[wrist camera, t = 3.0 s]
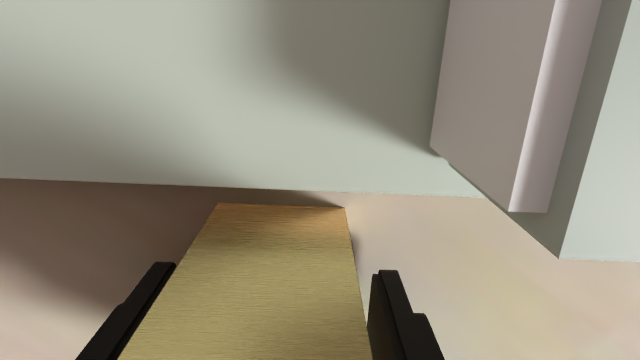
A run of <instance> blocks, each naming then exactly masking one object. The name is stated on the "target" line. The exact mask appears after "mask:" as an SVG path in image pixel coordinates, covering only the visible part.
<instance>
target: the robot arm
mask: <svg viewBox="0 0 640 360" xmlns="http://www.w3.org/2000/svg"><path fill="white" fill-rule="evenodd" d="M176 268H177V267H176V264H175V263H174V262H155V263H154V264H153V265H152V267H151V268H150V269H149V270H148V272H147V273H146V274H145V276H144V277H143V278H142V280H141V281H140V282H139V284H138V285H137V286H136V287H135V289H134V290H133V291H132V293H131V294H130V295H129V297H128V298H127V299H126V301H125V302H124V303H123V304H120V305H118V306H117V307H116V308H115V309H114V311H113V312H112V313H111V314H110V316H109V317H108V318H107V320H106V321H105V322H104V323H103V325H102V326H101V327H100V329H99V330H98V331H97V332H96V334H95V335H94V336H93V337H92V339H91V340H90V341H89V343H88V344H87V345H86V346H85V348H84V349H83V350H82V352H81V353H80V354H79V355H78V357H77V358H76V359H75V360H117V359H118V358H119V356H120V354H121V353H122V351H123V350H124V348H125V347H126V345H127V344H128V342H129V341H130V339H131V337H132V336H133V334H134V333H135V331H136V330H137V328H138V327H139V325H140V324H141V322H142V320H143V319H144V317H145V316H146V314H147V313H148V311H149V310H150V308H151V306H152V305H153V303H154V302H155V300H156V299H157V297H158V296H159V294H160V293H161V291H162V289H163V288H164V286H165V285H166V283H167V282H168V280H169V279H170V277H171V275H172V274H173V272H174V271H175V269H176ZM367 331H368V337H369V342H370V348H371V353H372V358H373V360H445V359H444V357H443V354H442V352H441V350H440V347H439V345H438V343H437V340H436V338H435V335H434V333H433V331H432V328H431V326H430V323H429V321H428V319H427V317H426V315H425V314H424V313H413V311H412V308H411V306H410V303H409V300H408V298H407V295H406V292H405V290H404V287H403V284H402V281H401V279H400V276H399V273H398V271H397V270H379V273H378V274H373V276H372V283H371V293H370V302H369V312H368V321H367Z"/></svg>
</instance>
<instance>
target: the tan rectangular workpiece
mask: <svg viewBox="0 0 640 360" xmlns="http://www.w3.org/2000/svg"><path fill="white" fill-rule="evenodd" d="M117 360H373V358H372V353H371V348H370V342H369V337H368V331H367V326H366V321H365V315H364V310H363V304H362V299H361V294H360V288H359V283H358V277H357V272H356V267H355V261H354V256H353V250H352V245H351V240H350V234H349V229H348V223H347V218H346V212H345V208H337V207H312V206H287V205H261V204H236V203H218V204H217V206H216V207H215V209H214V210H213V212H212V214H211V215H210V217H209V218H208V220H207V221H206V223H205V224H204V226H203V227H202V229H201V231H200V232H199V234H198V235H197V237H196V238H195V240H194V241H193V243H192V245H191V246H190V248H189V249H188V251H187V252H186V254H185V255H184V257H183V258H182V260H181V262H180V263H179V265H178V266H177V268H176V269H175V271H174V272H173V274H172V275H171V277H170V279H169V280H168V282H167V283H166V285H165V286H164V288H163V289H162V291H161V293H160V294H159V296H158V297H157V299H156V300H155V302H154V303H153V305H152V306H151V308H150V310H149V311H148V313H147V314H146V316H145V317H144V319H143V320H142V322H141V324H140V325H139V327H138V328H137V330H136V331H135V333H134V334H133V336H132V337H131V339H130V341H129V342H128V344H127V345H126V347H125V348H124V350H123V351H122V353H121V354H120V356H119V358H118V359H117Z"/></svg>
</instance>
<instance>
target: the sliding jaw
mask: <svg viewBox="0 0 640 360" xmlns="http://www.w3.org/2000/svg"><path fill="white" fill-rule="evenodd" d="M430 147H431V148H432V149H433V150H435V151H436V152H437V153H438V154H439V155H441V156H442V157H443V158H444V159H446V160H447V161H448V162H449V163H448V165H449V166H450V167H452V168H453V169H454V170H455V171H456V172H457V173H459V174H460V175H461V176H462V177H463V178H464V179H466V180H467V181H468V182H469V183H470V184H471V185H473V186H474V187H475V188H476V189H477V190H479V191H480V192H481V193H482V194H483V195H484V196H486V197H487V198H488V199H489V200H490V201H491V202H493V203H494V204H495V205H496V206H497V207H498V208H500V209H501V210H502V211H503V212H504V213H505V214H507V215H508V216H509V217H510V218H511V219H513V220H514V221H515V222H516V223H517V224H518V225H520V226H521V227H522V228H523V229H524V230H525V231H527V232H528V233H529V234H530V235H531V236H532V237H534V238H535V239H536V240H537V241H538V242H539V243H541V244H542V245H543V246H544V247H545V248H547V249H548V250H549V251H550V252H551V253H552V254H554V255H555V256H556V257H557V258H558V259H577V260H604V261H631V262H640V0H450V7H449V14H448V21H447V28H446V35H445V42H444V48H443V55H442V62H441V69H440V76H439V83H438V90H437V97H436V104H435V111H434V118H433V125H432V132H431V139H430Z"/></svg>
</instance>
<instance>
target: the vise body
mask: <svg viewBox="0 0 640 360" xmlns="http://www.w3.org/2000/svg"><path fill="white" fill-rule="evenodd" d="M449 7H450V0H0V178H12V179H37V180H61V181H86V182H110V183H135V184H160V185H184V186H209V187H234V188H258V189H283V190H307V191H332V192H357V193H381V194H406V195H430V196H455V197H480V198H487V197H486V196H484V195H483V194H482V193H481V192H480V191H479V190H477V189H476V188H475V187H474V186H473V185H471V184H470V183H469V182H468V181H467V180H466V179H464V178H463V177H462V176H461V175H460V174H459V173H457V172H456V171H455V170H454V169H453V168H452V167H450V166H449V165H448V163H449V162H448V161H447V160H446V159H444V158H443V157H442V156H441V155H439V154H438V153H437V152H436V151H435V150H433V149H432V148H431V147H430V139H431V132H432V125H433V118H434V111H435V104H436V97H437V90H438V83H439V76H440V69H441V62H442V55H443V48H444V42H445V35H446V28H447V21H448V14H449Z"/></svg>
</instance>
